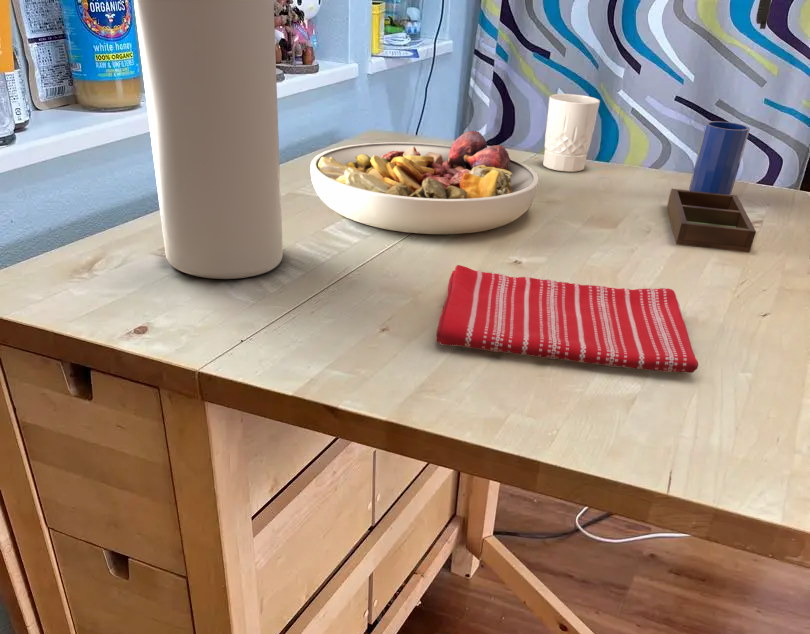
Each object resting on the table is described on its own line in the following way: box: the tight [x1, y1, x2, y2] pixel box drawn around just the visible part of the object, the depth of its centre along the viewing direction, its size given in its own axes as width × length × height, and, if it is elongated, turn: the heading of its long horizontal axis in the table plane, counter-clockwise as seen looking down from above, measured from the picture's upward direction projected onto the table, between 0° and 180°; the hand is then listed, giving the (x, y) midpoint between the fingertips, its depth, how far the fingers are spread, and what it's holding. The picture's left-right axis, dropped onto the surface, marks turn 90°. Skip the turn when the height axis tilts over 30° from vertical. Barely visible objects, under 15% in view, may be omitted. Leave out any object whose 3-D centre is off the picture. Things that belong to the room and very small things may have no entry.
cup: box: [688, 120, 751, 195], centre depth 118 cm, size 6×6×10 cm
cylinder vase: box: [133, 0, 284, 280], centre depth 81 cm, size 12×12×25 cm
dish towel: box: [436, 264, 699, 374], centre depth 78 cm, size 17×24×3 cm
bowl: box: [310, 130, 540, 235], centre depth 107 cm, size 30×30×8 cm
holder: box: [666, 188, 757, 253], centre depth 108 cm, size 9×17×3 cm, turn 169°
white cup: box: [542, 93, 601, 173], centre depth 129 cm, size 8×8×10 cm
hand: (798, 27), depth 104 cm, fingers open, 8 cm apart
